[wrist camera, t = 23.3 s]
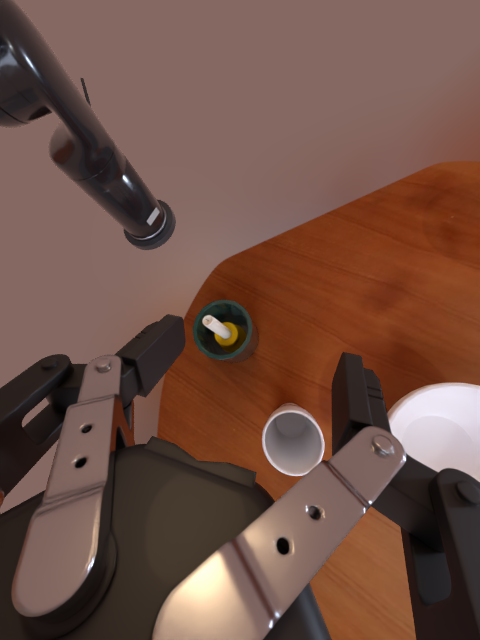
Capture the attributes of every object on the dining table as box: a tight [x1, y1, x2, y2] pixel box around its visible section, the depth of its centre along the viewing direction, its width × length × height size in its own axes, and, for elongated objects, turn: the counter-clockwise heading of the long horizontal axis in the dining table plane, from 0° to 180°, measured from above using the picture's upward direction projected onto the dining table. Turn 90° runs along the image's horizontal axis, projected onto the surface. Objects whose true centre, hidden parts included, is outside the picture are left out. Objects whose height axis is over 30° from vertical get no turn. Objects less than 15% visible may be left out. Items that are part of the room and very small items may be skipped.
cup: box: [193, 299, 259, 363], centre depth 41 cm, size 9×9×9 cm
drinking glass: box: [262, 403, 324, 476], centre depth 33 cm, size 7×7×15 cm
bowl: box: [387, 383, 480, 482], centre depth 32 cm, size 20×20×7 cm
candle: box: [202, 315, 247, 353], centre depth 37 cm, size 5×5×16 cm
